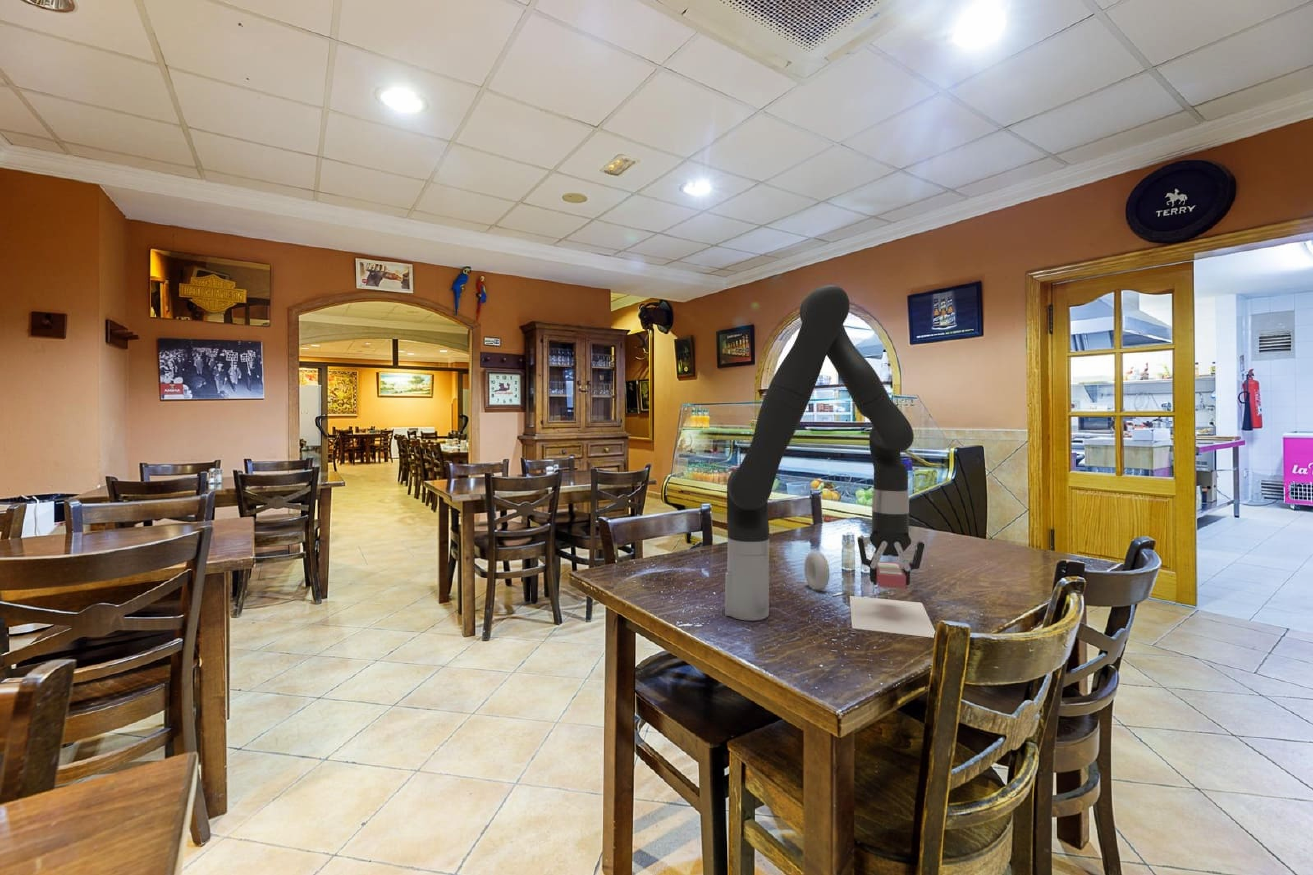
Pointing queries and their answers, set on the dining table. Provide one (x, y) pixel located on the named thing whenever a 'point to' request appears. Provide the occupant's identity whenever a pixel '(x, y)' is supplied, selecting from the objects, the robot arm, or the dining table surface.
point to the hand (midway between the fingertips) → (889, 585)
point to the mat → (890, 616)
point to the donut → (816, 571)
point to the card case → (890, 575)
